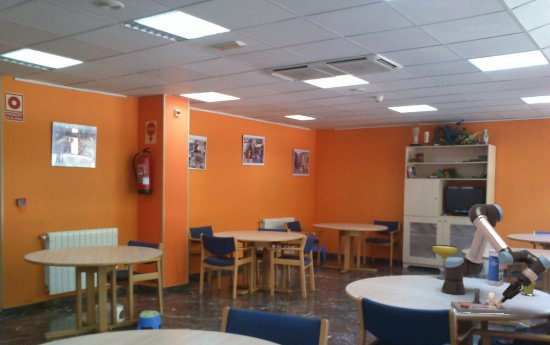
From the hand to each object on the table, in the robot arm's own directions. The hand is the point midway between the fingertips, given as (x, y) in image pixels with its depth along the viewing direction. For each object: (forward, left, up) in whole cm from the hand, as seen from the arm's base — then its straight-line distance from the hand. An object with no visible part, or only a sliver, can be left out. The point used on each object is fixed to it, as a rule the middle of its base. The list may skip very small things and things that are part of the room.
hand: (496, 305), depth 275 cm
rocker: (-4, +8, -1) cm, 9 cm away
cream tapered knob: (-3, -2, -2) cm, 4 cm away
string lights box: (-20, +84, -5) cm, 87 cm away
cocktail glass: (-55, +74, -5) cm, 93 cm away
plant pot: (+5, +64, -5) cm, 65 cm away
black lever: (-12, +3, -2) cm, 12 cm away
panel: (-9, -1, -5) cm, 10 cm away
